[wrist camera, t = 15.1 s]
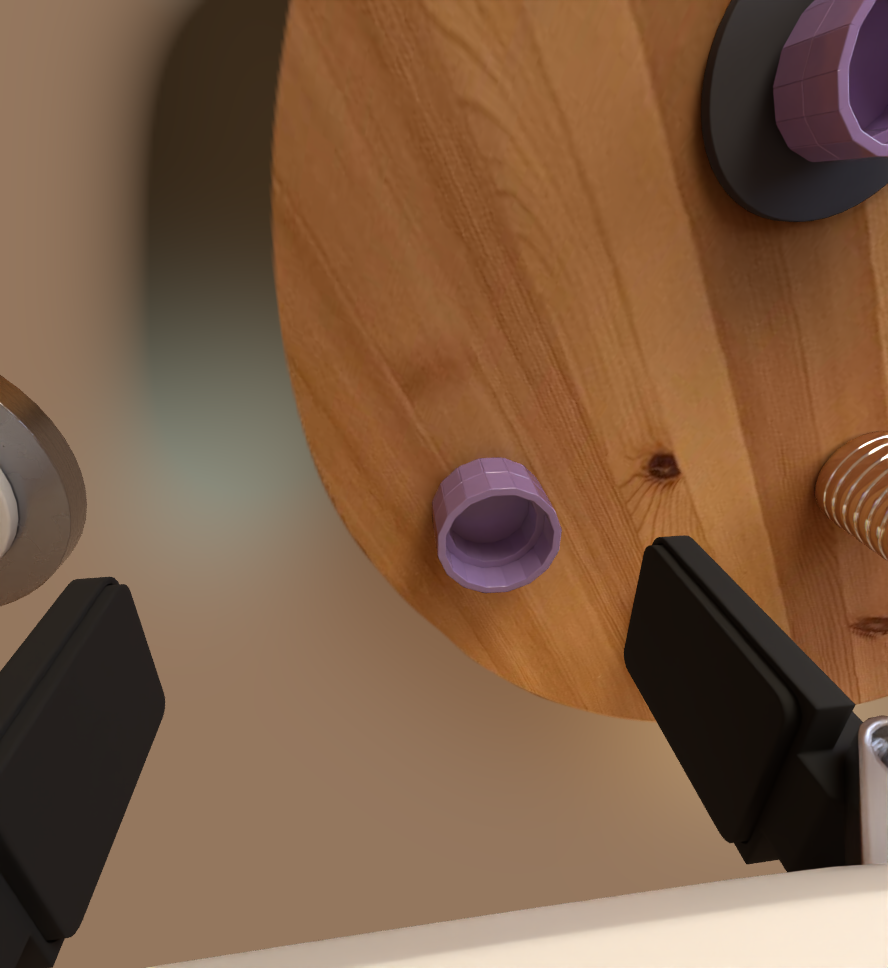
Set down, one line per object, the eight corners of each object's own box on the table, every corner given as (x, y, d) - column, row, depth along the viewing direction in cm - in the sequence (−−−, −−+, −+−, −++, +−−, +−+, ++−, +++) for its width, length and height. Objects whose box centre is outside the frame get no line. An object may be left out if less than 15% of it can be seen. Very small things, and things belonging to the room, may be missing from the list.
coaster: (676, 220, 27) (684, 221, 27) (738, -111, 22) (750, -121, 21) (893, 222, 29) (906, 222, 28) (1005, -92, 23) (1025, -102, 22)
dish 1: (431, 551, 35) (437, 596, 31) (431, 455, 32) (438, 491, 28) (535, 546, 36) (554, 589, 32) (545, 451, 33) (567, 485, 29)
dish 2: (746, 162, 26) (813, 155, 22) (791, -31, 23) (879, -80, 19) (880, 164, 26) (968, 158, 22) (942, -22, 23) (1057, -68, 19)
